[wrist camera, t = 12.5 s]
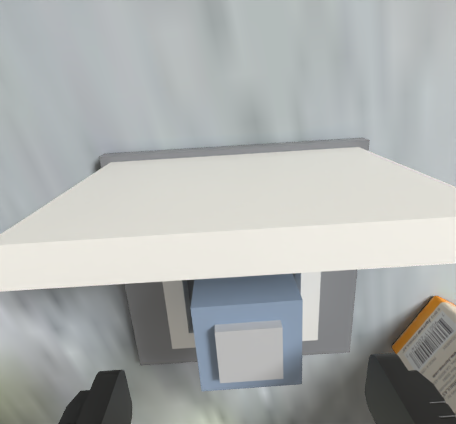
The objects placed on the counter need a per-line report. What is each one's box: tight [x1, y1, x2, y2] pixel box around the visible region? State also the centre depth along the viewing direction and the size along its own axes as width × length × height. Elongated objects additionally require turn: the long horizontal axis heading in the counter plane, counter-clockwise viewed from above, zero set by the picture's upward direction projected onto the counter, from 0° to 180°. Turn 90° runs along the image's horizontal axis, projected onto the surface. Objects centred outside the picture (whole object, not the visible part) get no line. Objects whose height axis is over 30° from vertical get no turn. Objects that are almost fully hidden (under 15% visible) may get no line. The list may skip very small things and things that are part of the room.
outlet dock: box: [0, 138, 456, 365], centre depth 14 cm, size 13×13×10 cm
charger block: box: [191, 273, 303, 391], centre depth 15 cm, size 4×4×6 cm
